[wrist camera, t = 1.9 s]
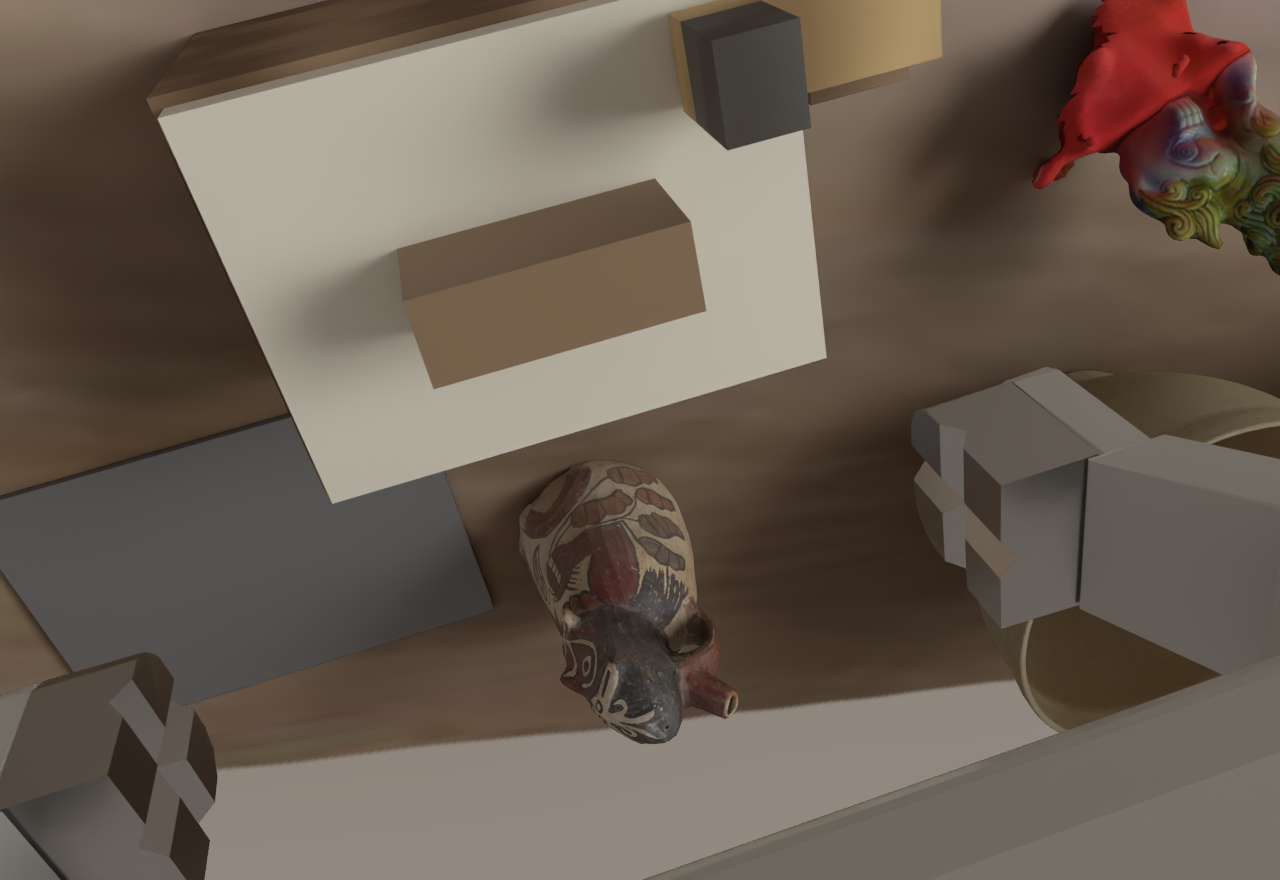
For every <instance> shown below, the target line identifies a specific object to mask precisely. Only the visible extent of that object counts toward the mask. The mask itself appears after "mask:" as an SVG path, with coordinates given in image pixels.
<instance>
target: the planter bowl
mask: <svg viewBox="0 0 1280 880" xmlns="http://www.w3.org/2000/svg"><path fill="white" fill-rule="evenodd" d="M1065 375H1066V376H1068V377H1069V378H1070V379H1072V380H1073V381H1074V382H1076V383H1077V384H1078V385H1080V386H1081V387H1082V388H1084V389H1085V390H1086V391H1088V392H1089V393H1090V394H1092V395H1093V396H1094V397H1096V398H1097V399H1098V400H1100V401H1101V402H1102V403H1104V404H1105V405H1106V406H1108V407H1109V408H1110V409H1112V410H1113V411H1114V412H1116V413H1117V414H1118V415H1120V416H1121V417H1122V418H1124V419H1125V420H1126V421H1128V422H1129V423H1130V424H1132V425H1133V426H1134V427H1136V428H1137V429H1138V430H1140V431H1141V432H1142V433H1144V434H1145V435H1146V436H1148V437H1149V438H1150V439H1152V438H1155V437H1158V436H1161V435H1169V436H1174V437H1179V438H1183V439H1188V440H1193V441H1197V442H1202V443H1207V444H1211V445H1216V446H1221V447H1225V448H1230V449H1235V450H1239V451H1244V452H1249V453H1253V454H1258V455H1263V456H1267V457H1272V458H1277V459H1280V399H1279V398H1277V397H1275V396H1272V395H1270V394H1267V393H1265V392H1262V391H1260V390H1257V389H1254V388H1251V387H1248V386H1245V385H1242V384H1239V383H1235V382H1231V381H1227V380H1223V379H1218V378H1213V377H1208V376H1202V375H1196V374H1188V373H1179V372H1160V371H1157V372H1131V373H1122V374H1115V375H1114V374H1111V373H1107V372H1101V371H1091V370H1090V371H1076V372H1071V373H1067V374H1065ZM977 602H978V600H977ZM978 605H979V608H980V611H981V614H982V616H983V619H984V621H985V623H986V626H987V628H988V630H989V633H990V635H991V637H992V638H993V640H994V642H995V644H996V646H997V648H998V649H999V651H1000V653H1001V655H1002V656H1003V658H1004V659H1005V661H1006V662H1007V664H1008V666H1009V667H1010V669H1011V670H1012V671H1013V673H1014V676H1015V679H1016V681H1017V684H1018V685H1019V687H1020V690H1021V692H1022V694H1023V696H1024V697H1025V699H1026V700H1027V702H1028V703H1029V705H1030V706H1031V708H1032V709H1033V711H1034V712H1035V713H1036V714H1037V716H1038V717H1039V718H1040V719H1042V720H1043V721H1044V722H1045V723H1046V724H1047V725H1048V726H1050V727H1051V728H1053V729H1054V730H1056V731H1058V732H1059V733H1061V732H1064V731H1067V730H1070V729H1072V728H1075V727H1078V726H1081V725H1084V724H1086V723H1089V722H1092V721H1095V720H1098V719H1101V718H1103V717H1106V716H1109V715H1112V714H1115V713H1117V712H1120V711H1123V710H1126V709H1129V708H1132V707H1134V706H1137V705H1140V704H1143V703H1146V702H1148V701H1151V700H1154V699H1157V698H1160V697H1162V696H1165V695H1168V694H1171V693H1174V692H1177V691H1179V690H1182V689H1185V688H1188V687H1191V686H1193V685H1196V684H1199V683H1202V682H1205V681H1208V680H1210V679H1213V678H1216V677H1219V676H1222V674H1220V673H1218V672H1216V671H1214V670H1211V669H1209V668H1207V667H1205V666H1203V665H1201V664H1198V663H1196V662H1194V661H1192V660H1190V659H1188V658H1185V657H1183V656H1181V655H1179V654H1177V653H1175V652H1172V651H1170V650H1168V649H1166V648H1164V647H1162V646H1159V645H1157V644H1155V643H1153V642H1151V641H1149V640H1146V639H1144V638H1142V637H1140V636H1138V635H1136V634H1133V633H1131V632H1129V631H1127V630H1125V629H1123V628H1120V627H1118V626H1116V625H1114V624H1112V623H1110V622H1107V621H1105V620H1103V619H1101V618H1099V617H1097V616H1094V615H1092V614H1090V613H1088V612H1086V611H1084V610H1081V609H1080V605H1077V606H1074V607H1070V608H1067V609H1064V610H1061V611H1057V612H1054V613H1051V614H1048V615H1045V616H1041V617H1038V618H1035V619H1032V620H1028V621H1025V622H1022V623H1019V624H1015V625H1012V626H1009V627H1006V628H1002V629H1001V628H1000V627H999V626H998V624H997V623H996V622H995V621H994V620H993V618H992V617H991V616H990V615H989V614H988V612H987V611H986V610H985V609H984V608H983V606H982V605H981V604H980V603H979V602H978Z"/></svg>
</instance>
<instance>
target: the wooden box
mask: <svg viewBox="0 0 1280 880" xmlns="http://www.w3.org/2000/svg"><path fill="white" fill-rule="evenodd" d="M583 1H587V0H327V1H323V2H319V3H315V4H311V5H307V6H303V7H299V8H295V9H291V10H287V11H283V12H279V13H275V14H271V15H267V16H263V17H259V18H255V19H251V20H247V21H243V22H239V23H235V24H231V25H227V26H223V27H219V28H215V29H211V30H207V31H203V32H199V33H195V35H194V36H193V37H192V39H191V40H190V41H189V43H188V44H187V45H186V47H185V48H184V49H183V51H182V52H181V53H180V55H179V56H178V57H177V59H176V60H175V61H174V63H173V64H172V65H171V66H170V68H169V69H168V70H167V72H166V73H165V74H164V76H163V77H162V78H161V80H160V81H159V82H158V84H157V85H156V86H155V88H154V89H153V90H152V92H151V93H150V94H149V96H148V97H147V98H146V100H147V102H148V105H149V107H150V109H151V111H152V113H153V116H154V118H155V120H156V122H157V124H158V126H159V129H160V131H161V133H162V135H163V137H164V140H165V142H166V144H167V146H168V148H169V151H170V153H171V155H172V157H173V159H174V162H175V164H176V166H177V168H178V170H179V173H180V175H181V177H182V179H183V181H184V184H185V186H186V188H187V190H188V192H189V195H190V197H191V199H192V201H193V203H194V206H195V208H196V210H197V212H198V214H199V217H200V219H201V221H202V223H203V225H204V227H205V230H206V232H207V234H208V236H209V238H210V241H211V243H212V245H213V247H214V249H215V252H216V254H217V256H218V258H219V260H220V263H221V265H222V267H223V269H224V271H225V274H226V276H227V278H228V280H229V282H230V285H231V287H232V289H233V291H234V293H235V296H236V298H237V300H238V302H239V304H240V307H241V309H242V311H243V313H244V315H245V318H246V320H247V322H248V324H249V326H250V328H251V331H252V333H253V335H254V337H255V339H256V342H257V344H258V346H259V348H260V350H261V353H262V355H263V357H264V359H265V361H266V364H267V366H268V368H269V370H270V372H271V375H272V377H273V379H274V381H275V383H276V386H277V388H278V390H279V392H280V394H281V397H282V399H283V401H284V403H285V405H286V408H287V410H288V412H289V414H290V416H291V419H292V421H293V423H294V425H295V427H296V429H297V432H298V434H299V436H300V438H301V440H302V443H303V445H304V447H305V449H306V451H307V454H308V456H309V458H310V460H311V462H312V465H313V467H314V469H315V471H316V473H317V476H318V478H319V480H320V482H321V484H322V487H323V489H324V491H325V493H326V495H327V496H329V495H328V493H327V491H326V489H325V486H324V484H323V482H322V480H321V478H320V475H319V473H318V471H317V469H316V467H315V464H314V462H313V460H312V458H311V456H310V453H309V451H308V449H307V447H306V445H305V442H304V440H303V438H302V436H301V434H300V431H299V429H298V427H297V425H296V423H295V420H294V418H293V416H292V414H291V412H290V409H289V407H288V405H287V403H286V401H285V398H284V396H283V394H282V392H281V390H280V387H279V385H278V383H277V381H276V379H275V376H274V374H273V372H272V370H271V367H270V365H269V363H268V361H267V359H266V356H265V354H264V352H263V350H262V348H261V345H260V343H259V341H258V339H257V337H256V334H255V332H254V330H253V328H252V326H251V323H250V321H249V319H248V317H247V315H246V312H245V310H244V308H243V306H242V304H241V301H240V299H239V297H238V295H237V293H236V290H235V288H234V286H233V284H232V282H231V279H230V277H229V275H228V273H227V271H226V268H225V266H224V264H223V262H222V260H221V257H220V255H219V253H218V251H217V249H216V246H215V244H214V242H213V240H212V238H211V235H210V233H209V231H208V229H207V227H206V224H205V222H204V220H203V218H202V216H201V213H200V211H199V209H198V207H197V205H196V202H195V200H194V198H193V196H192V194H191V191H190V189H189V187H188V185H187V182H186V180H185V178H184V176H183V174H182V171H181V169H180V167H179V165H178V163H177V160H176V158H175V156H174V154H173V152H172V149H171V147H170V145H169V143H168V141H167V138H166V136H165V134H164V132H163V130H162V127H161V125H160V123H159V121H158V119H157V118H158V117H159V115H160V114H161V112H162V111H163V109H164V108H167V107H171V106H175V105H179V104H183V103H187V102H191V101H195V100H199V99H203V98H207V97H211V96H214V95H218V94H222V93H226V92H230V91H234V90H238V89H242V88H246V87H250V86H254V85H258V84H262V83H265V82H269V81H273V80H277V79H281V78H285V77H289V76H293V75H297V74H301V73H305V72H309V71H313V70H317V69H320V68H324V67H328V66H332V65H336V64H340V63H344V62H348V61H352V60H356V59H360V58H364V57H368V56H371V55H375V54H379V53H383V52H387V51H391V50H395V49H399V48H403V47H407V46H411V45H415V44H419V43H422V42H426V41H430V40H434V39H438V38H442V37H446V36H450V35H454V34H458V33H462V32H466V31H470V30H474V29H477V28H481V27H485V26H489V25H493V24H497V23H501V22H505V21H509V20H513V19H517V18H521V17H525V16H528V15H532V14H536V13H540V12H544V11H548V10H552V9H556V8H560V7H564V6H568V5H572V4H576V3H579V2H583ZM906 79H909V66H907V67H904V68H900V69H896V70H892V71H889V72H885V73H881V74H878V75H874V76H870V77H866V78H863V79H859V80H855V81H852V82H848V83H844V84H840V85H837V86H833V87H829V88H826V89H822V90H818V91H814V92H811V93H808V103H809V104H810V105H814V104H818V103H821V102H825V101H829V100H832V99H836V98H840V97H843V96H847V95H851V94H855V93H858V92H862V91H866V90H869V89H873V88H877V87H880V86H884V85H888V84H892V83H895V82H899V81H903V80H906Z"/></svg>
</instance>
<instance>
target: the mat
mask: <svg viewBox="0 0 1280 880" xmlns="http://www.w3.org/2000/svg"><path fill="white" fill-rule="evenodd" d="M0 570H1V571H2V573H3V574H4V575H5V577H6V578H7V580H8V581H9V582H10V584H11V585H12V587H13V588H14V589H15V591H16V592H17V594H18V595H19V596H20V598H21V599H22V601H23V602H24V603H25V605H26V606H27V608H28V609H29V610H30V612H31V613H32V615H33V616H34V617H35V619H36V620H37V622H38V623H39V624H40V626H41V627H42V629H43V630H44V631H45V633H46V634H47V636H48V637H49V638H50V640H51V641H52V643H53V644H54V645H55V647H56V648H57V650H58V651H59V652H60V654H61V655H62V657H63V658H64V659H65V661H66V662H67V664H68V665H69V666H70V668H71V669H72V671H73V672H77V671H80V670H83V669H87V668H90V667H94V666H97V665H101V664H104V663H107V662H111V661H114V660H118V659H121V658H125V657H128V656H132V655H135V654H138V653H142V652H149V653H152V654H155V655H158V656H159V658H160V659H161V661H162V662H163V663H164V665H165V666H166V668H167V669H168V671H169V672H170V673H171V675H172V676H173V678H174V683H173V689H172V694H171V699H170V700H171V701H174V702H176V703H178V704H181V705H183V706H186V705H189V704H192V703H195V702H198V701H202V700H205V699H208V698H211V697H215V696H218V695H221V694H224V693H228V692H231V691H234V690H237V689H240V688H244V687H247V686H250V685H253V684H257V683H260V682H263V681H266V680H269V679H273V678H276V677H279V676H282V675H286V674H289V673H292V672H295V671H299V670H302V669H305V668H308V667H311V666H315V665H318V664H321V663H324V662H328V661H331V660H334V659H337V658H340V657H344V656H347V655H350V654H353V653H357V652H360V651H363V650H366V649H370V648H373V647H376V646H379V645H382V644H386V643H389V642H392V641H395V640H399V639H402V638H405V637H408V636H412V635H415V634H418V633H421V632H424V631H428V630H431V629H434V628H437V627H441V626H444V625H447V624H450V623H453V622H457V621H460V620H463V619H466V618H470V617H473V616H476V615H479V614H483V613H486V612H489V611H492V610H494V605H493V602H492V600H491V597H490V594H489V592H488V589H487V586H486V583H485V581H484V578H483V575H482V573H481V570H480V567H479V565H478V562H477V559H476V556H475V554H474V551H473V548H472V546H471V543H470V540H469V537H468V535H467V532H466V529H465V527H464V524H463V521H462V518H461V516H460V513H459V510H458V508H457V505H456V502H455V499H454V497H453V494H452V491H451V489H450V486H449V483H448V481H447V478H446V475H445V472H444V471H442V472H439V473H435V474H432V475H428V476H425V477H422V478H418V479H415V480H412V481H408V482H405V483H401V484H398V485H395V486H391V487H388V488H384V489H381V490H378V491H374V492H371V493H367V494H364V495H361V496H357V497H354V498H351V499H347V500H344V501H340V502H337V503H334V504H332V502H331V500H330V497H329V496H327V495H326V493H325V491H324V489H323V487H322V484H321V482H320V480H319V478H318V476H317V473H316V471H315V469H314V467H313V465H312V462H311V460H310V458H309V456H308V454H307V451H306V449H305V447H304V445H303V443H302V440H301V438H300V436H299V434H298V432H297V429H296V427H295V425H294V423H293V421H292V419H291V416H290V414H287V415H283V416H280V417H276V418H273V419H269V420H266V421H262V422H259V423H255V424H252V425H248V426H245V427H241V428H238V429H234V430H231V431H227V432H224V433H220V434H217V435H213V436H210V437H206V438H203V439H199V440H196V441H192V442H189V443H185V444H182V445H178V446H175V447H171V448H168V449H164V450H161V451H157V452H154V453H150V454H147V455H143V456H140V457H136V458H133V459H129V460H126V461H122V462H119V463H115V464H112V465H108V466H105V467H101V468H98V469H94V470H91V471H87V472H84V473H80V474H77V475H73V476H70V477H66V478H63V479H59V480H56V481H52V482H49V483H45V484H42V485H38V486H35V487H31V488H28V489H24V490H21V491H17V492H14V493H11V494H7V495H4V496H0Z"/></svg>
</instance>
